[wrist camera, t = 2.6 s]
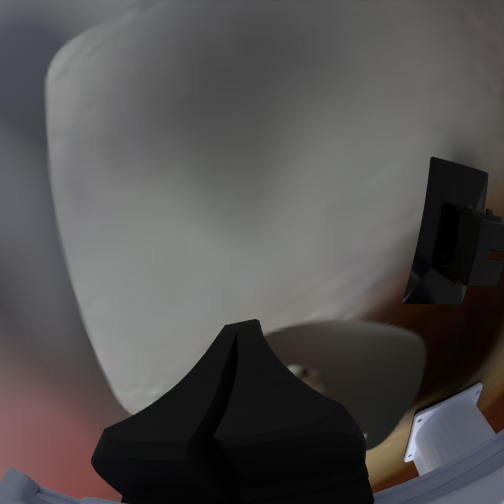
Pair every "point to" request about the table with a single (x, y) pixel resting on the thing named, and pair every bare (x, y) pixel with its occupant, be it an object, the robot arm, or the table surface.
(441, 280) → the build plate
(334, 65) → the table surface
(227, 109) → the table surface
